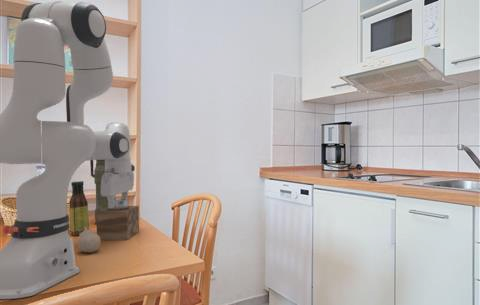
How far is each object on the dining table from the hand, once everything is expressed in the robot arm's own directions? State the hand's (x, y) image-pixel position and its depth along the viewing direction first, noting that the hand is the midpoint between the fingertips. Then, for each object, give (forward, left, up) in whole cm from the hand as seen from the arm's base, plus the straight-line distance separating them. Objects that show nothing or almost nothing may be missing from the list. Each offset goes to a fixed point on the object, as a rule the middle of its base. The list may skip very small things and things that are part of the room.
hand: (118, 205), depth 119 cm
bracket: (0, 0, -6) cm, 6 cm away
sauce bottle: (+2, +16, -11) cm, 20 cm away
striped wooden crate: (0, 0, -11) cm, 11 cm away
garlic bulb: (-19, +1, -11) cm, 22 cm away
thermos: (+21, +15, -11) cm, 28 cm away
